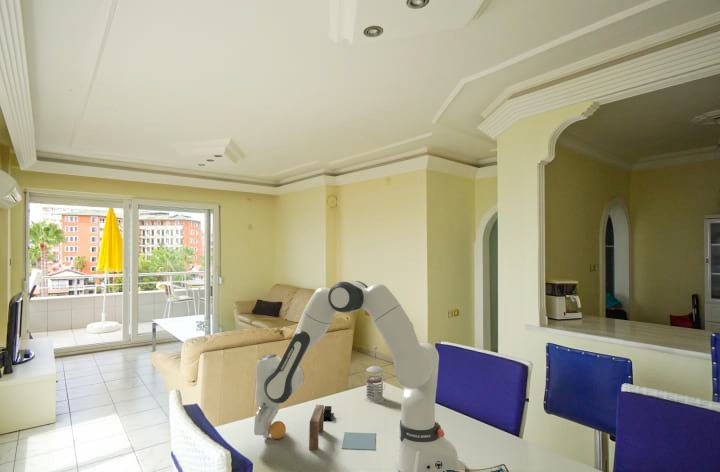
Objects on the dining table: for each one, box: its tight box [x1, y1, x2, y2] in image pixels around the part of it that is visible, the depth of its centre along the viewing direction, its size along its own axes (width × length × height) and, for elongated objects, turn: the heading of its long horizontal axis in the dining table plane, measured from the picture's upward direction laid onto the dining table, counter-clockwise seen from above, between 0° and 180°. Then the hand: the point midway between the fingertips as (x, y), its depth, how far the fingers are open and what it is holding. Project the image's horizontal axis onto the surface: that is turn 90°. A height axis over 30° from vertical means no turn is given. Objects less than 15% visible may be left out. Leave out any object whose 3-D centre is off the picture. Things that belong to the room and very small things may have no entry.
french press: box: [363, 345, 386, 404], centre depth 182 cm, size 10×12×25 cm
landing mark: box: [341, 431, 376, 451], centre depth 142 cm, size 12×12×1 cm
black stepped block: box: [324, 405, 335, 423], centre depth 161 cm, size 12×7×5 cm, turn 0°
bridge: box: [308, 404, 325, 451], centre depth 143 cm, size 3×15×10 cm, turn 178°
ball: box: [269, 420, 287, 440], centre depth 143 cm, size 6×6×6 cm
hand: (266, 436), depth 143 cm, fingers closed
